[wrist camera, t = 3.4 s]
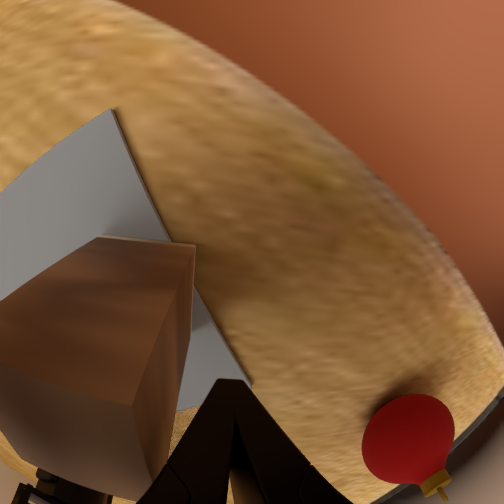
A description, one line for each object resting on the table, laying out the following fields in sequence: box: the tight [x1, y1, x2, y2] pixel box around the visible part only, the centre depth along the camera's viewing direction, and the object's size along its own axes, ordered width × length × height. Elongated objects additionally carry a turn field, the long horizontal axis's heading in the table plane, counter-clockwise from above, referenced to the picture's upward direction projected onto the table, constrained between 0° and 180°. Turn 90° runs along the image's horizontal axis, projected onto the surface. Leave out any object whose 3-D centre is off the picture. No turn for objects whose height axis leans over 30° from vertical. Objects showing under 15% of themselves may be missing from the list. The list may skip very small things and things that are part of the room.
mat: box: [0, 109, 252, 412], centre depth 13 cm, size 16×12×1 cm
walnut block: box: [0, 235, 196, 502], centre depth 8 cm, size 4×4×9 cm
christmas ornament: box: [362, 394, 455, 502], centre depth 13 cm, size 7×7×10 cm
